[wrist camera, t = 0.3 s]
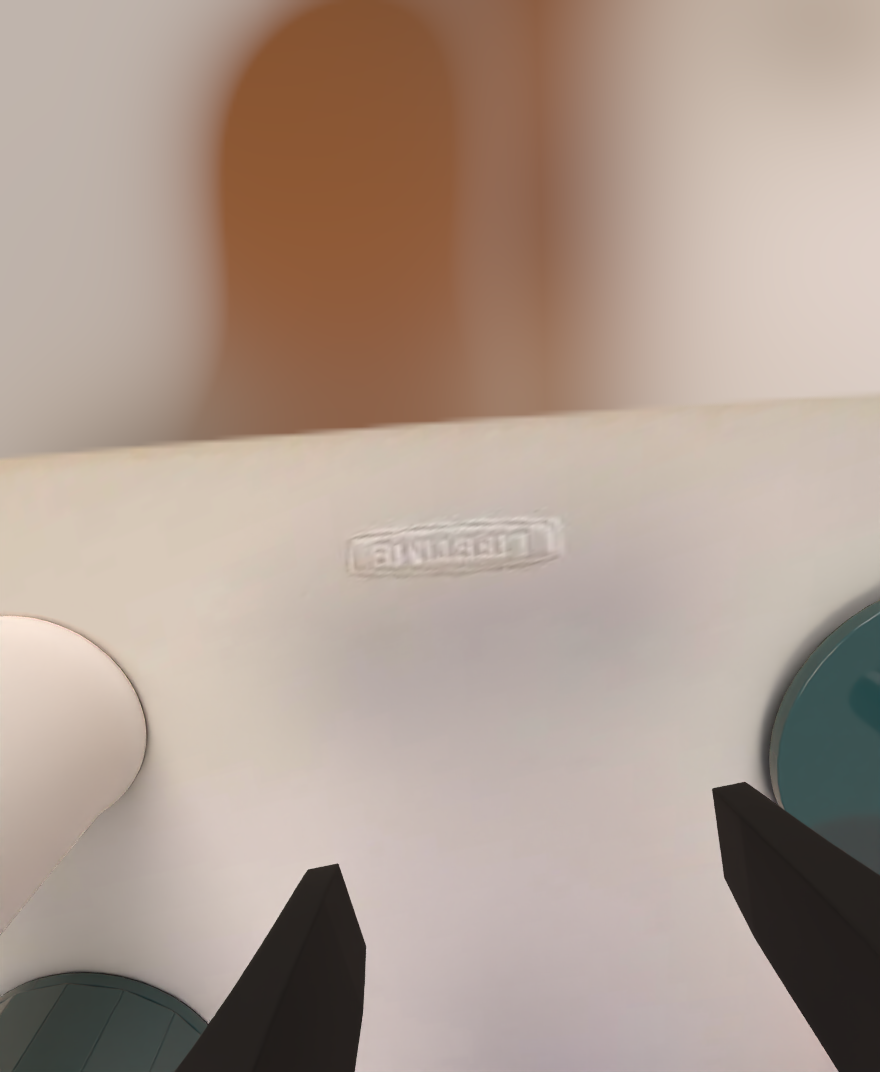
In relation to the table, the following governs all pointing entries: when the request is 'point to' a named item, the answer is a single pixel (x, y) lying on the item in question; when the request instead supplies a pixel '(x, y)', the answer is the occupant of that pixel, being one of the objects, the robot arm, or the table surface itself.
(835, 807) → the lid
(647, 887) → the table surface
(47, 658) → the mug
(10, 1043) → the pot
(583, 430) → the table surface
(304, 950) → the robot arm
